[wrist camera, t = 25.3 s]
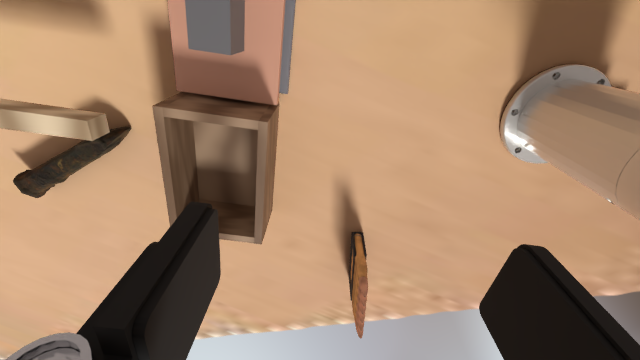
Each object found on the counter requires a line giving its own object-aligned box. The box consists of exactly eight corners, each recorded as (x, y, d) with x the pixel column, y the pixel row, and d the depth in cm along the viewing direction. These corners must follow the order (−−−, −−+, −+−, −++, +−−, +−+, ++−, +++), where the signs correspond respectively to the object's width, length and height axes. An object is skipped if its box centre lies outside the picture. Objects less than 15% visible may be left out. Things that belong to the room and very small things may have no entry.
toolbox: (279, 103, 37) (267, 122, 30) (272, 210, 45) (261, 244, 38) (186, 90, 37) (152, 105, 30) (195, 200, 45) (171, 233, 38)
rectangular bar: (105, 113, 29) (87, 120, 26) (109, 132, 30) (92, 140, 27) (-40, 93, 28) (-71, 98, 26) (-31, 112, 29) (-60, 120, 27)
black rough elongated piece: (53, 188, 45) (25, 205, 41) (31, 167, 43) (0, 183, 39) (146, 143, 41) (126, 156, 37) (127, 117, 39) (103, 128, 35)
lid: (291, -71, 28) (280, -98, 22) (279, 100, 36) (269, 117, 30) (169, -92, 28) (122, -126, 21) (184, 87, 36) (154, 100, 30)
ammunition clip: (351, 231, 47) (358, 291, 36) (363, 232, 47) (372, 292, 36) (348, 277, 52) (353, 342, 42) (359, 278, 52) (366, 342, 42)
